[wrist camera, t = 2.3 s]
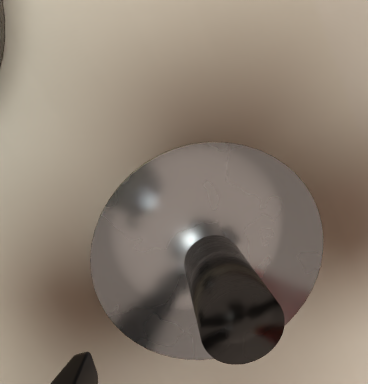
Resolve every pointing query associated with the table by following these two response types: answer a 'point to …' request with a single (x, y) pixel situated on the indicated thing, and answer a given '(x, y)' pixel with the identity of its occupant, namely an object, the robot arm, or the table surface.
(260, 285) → the lid
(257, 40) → the table surface
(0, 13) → the pot
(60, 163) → the table surface
